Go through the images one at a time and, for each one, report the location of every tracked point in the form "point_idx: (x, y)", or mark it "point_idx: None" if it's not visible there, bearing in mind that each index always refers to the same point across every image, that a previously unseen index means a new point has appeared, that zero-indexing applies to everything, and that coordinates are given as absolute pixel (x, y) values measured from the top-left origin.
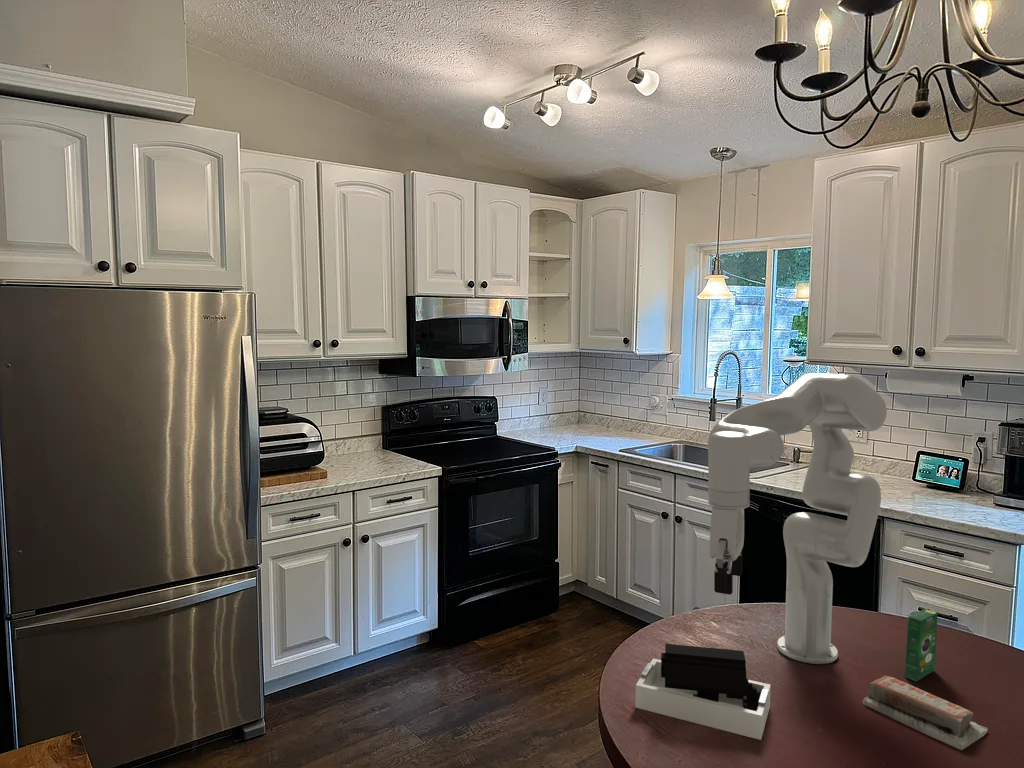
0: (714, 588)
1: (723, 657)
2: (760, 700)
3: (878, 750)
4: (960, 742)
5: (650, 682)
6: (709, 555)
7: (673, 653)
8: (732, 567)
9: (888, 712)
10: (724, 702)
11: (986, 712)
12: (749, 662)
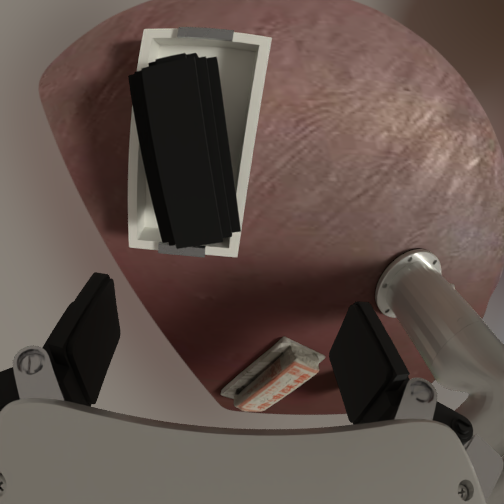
0: (90, 278)
1: (169, 203)
2: (163, 246)
3: (185, 341)
4: (223, 394)
5: (213, 44)
6: (7, 407)
7: (144, 86)
8: (352, 354)
9: (263, 357)
10: None
11: (295, 404)
12: (372, 209)
